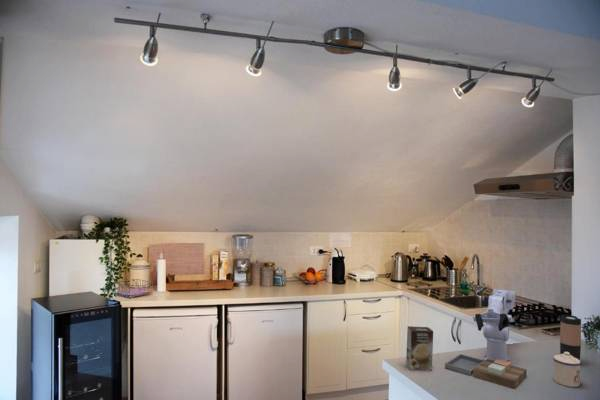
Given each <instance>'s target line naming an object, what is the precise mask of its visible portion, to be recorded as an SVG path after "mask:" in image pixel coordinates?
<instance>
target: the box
mask: <svg viewBox="0 0 600 400" xmlns="http://www.w3.org/2000/svg"><path fill="white" fill-rule="evenodd" d="M482 362H484V360H483V359H481V358H477V357H473V356H469V355H466V354H462V353H459V354H458V355H456V356H455V357H453V358H451V359H450V360H448V361H447V362H445V363H444V369H446V370H449V371H452V372H456V373H459V374H462V375H466V376H470V377H472V376H473V369H474V368H476V367H477V366H478V365H480V364H481V363H482Z"/></svg>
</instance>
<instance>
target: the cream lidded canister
mask: <svg viewBox="0 0 600 400" xmlns="http://www.w3.org/2000/svg"><path fill="white" fill-rule="evenodd" d="M552 359H553V377H552V378H553V381H554V382H555V383H557V384H558V385H561V386H565V387H569V388H577V387H579V386H581V384H580V383H581V364H582V362H581V359H580V360H578V359H577V358H574V357H573V356H571V355H570V353H569V352H564V354H560V353H559V354H554V356H553V357H552Z"/></svg>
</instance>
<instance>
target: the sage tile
mask: <svg viewBox="0 0 600 400" xmlns="http://www.w3.org/2000/svg"><path fill="white" fill-rule="evenodd" d="M488 372H490V373H494V374H497V375H501V376H502V375H503V374H504V373H505V372H506V367H504V366H501V365H497V364H493V363H492V364H491V365H489V366H488Z"/></svg>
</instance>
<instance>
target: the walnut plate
mask: <svg viewBox="0 0 600 400" xmlns="http://www.w3.org/2000/svg"><path fill="white" fill-rule="evenodd" d="M483 361H484V360H483ZM494 362H495V361H494V360H490V359H486V360H485V361H484V362H482V363H481V364H480V365H478V366H477V367H476V368H474V369H473V375H472V377H473V378H476V379H480V380H483V381H486V382H490V383H493V384H496V385H499V386H502V387H506V388H508V389H512V390H513V389H514V390H515V389H516V388H517V387H518V386H519V385H520V384H521V383H522V382H523V381H524V380H525V379H526V378H527V368H524V367H521V366H520V367H519V366H516V365H512V364H511V368H510V369H508V370H507V371H506V372H505V373H504V374H503V375H502V376H501V375H497V374H494V373H490V372H488V366H489V365H491V364H492V363H493V364H494Z"/></svg>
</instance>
